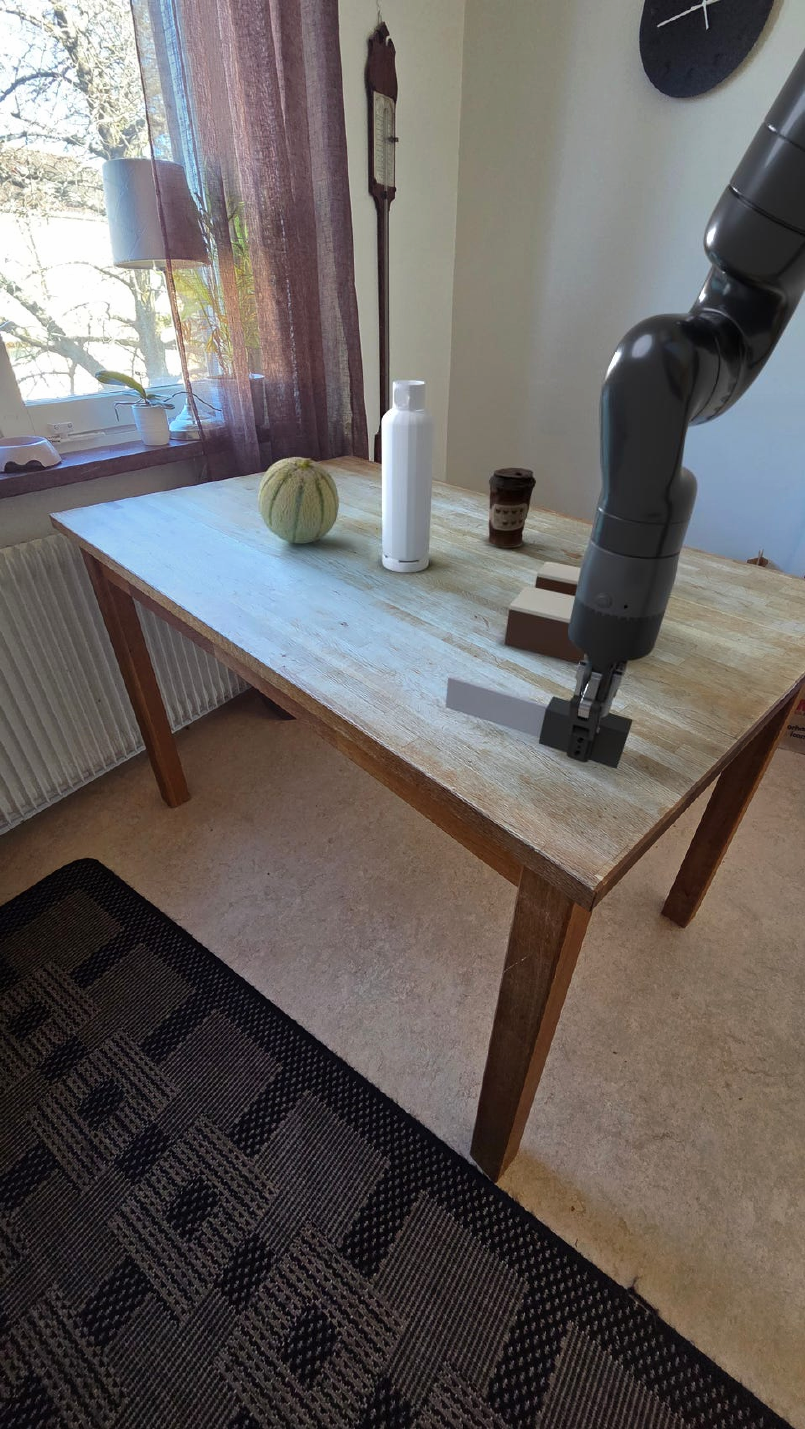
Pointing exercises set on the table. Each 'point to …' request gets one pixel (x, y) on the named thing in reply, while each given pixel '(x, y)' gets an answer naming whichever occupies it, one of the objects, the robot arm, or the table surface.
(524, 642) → the cake
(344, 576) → the table surface
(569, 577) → the cake slice
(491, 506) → the coffee cup
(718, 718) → the table surface
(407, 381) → the bottle
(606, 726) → the knife
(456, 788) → the table surface
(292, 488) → the cantaloupe
